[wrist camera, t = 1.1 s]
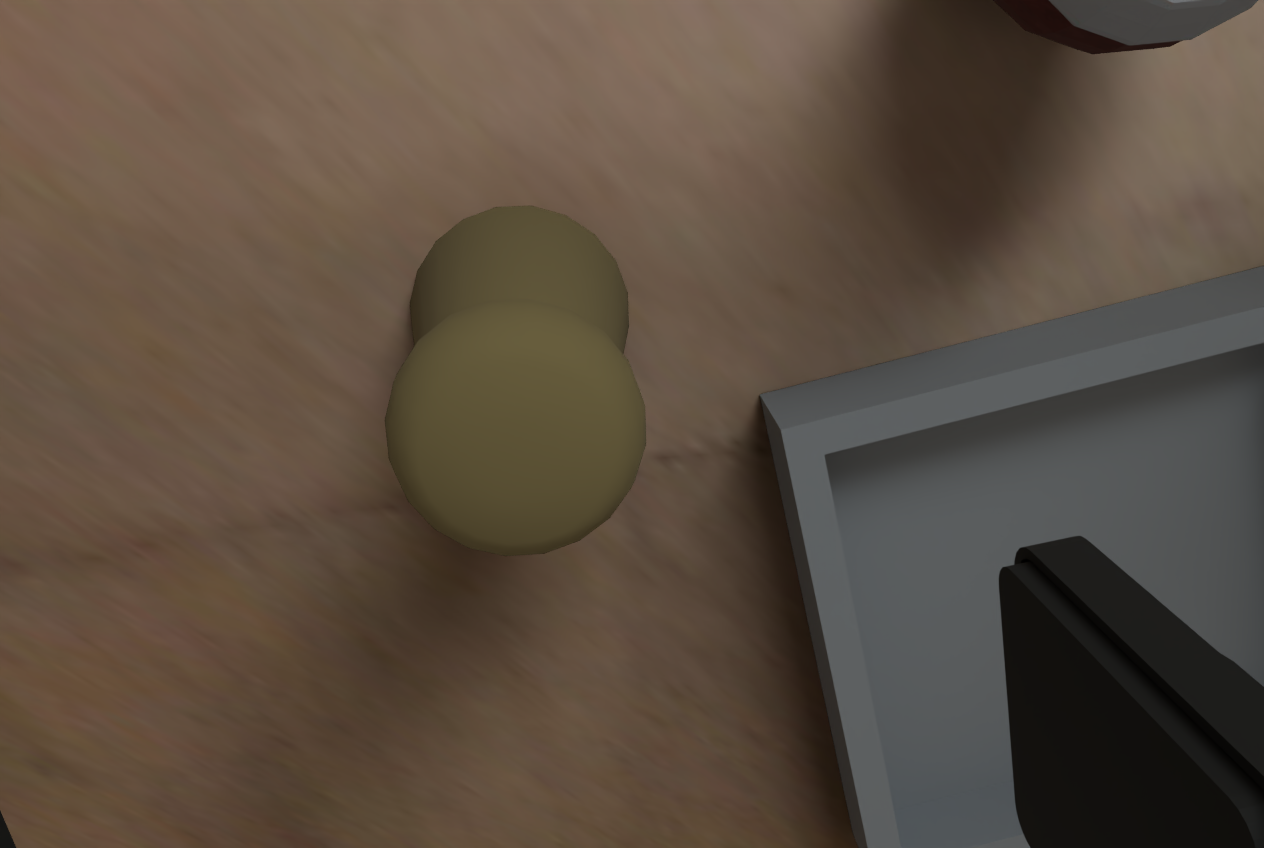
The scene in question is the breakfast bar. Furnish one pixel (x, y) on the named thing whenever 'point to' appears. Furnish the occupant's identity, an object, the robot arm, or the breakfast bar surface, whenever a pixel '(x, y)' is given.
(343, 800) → the breakfast bar surface
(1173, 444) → the tray
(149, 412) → the breakfast bar surface
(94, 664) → the breakfast bar surface
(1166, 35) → the mate gourd
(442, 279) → the cork
